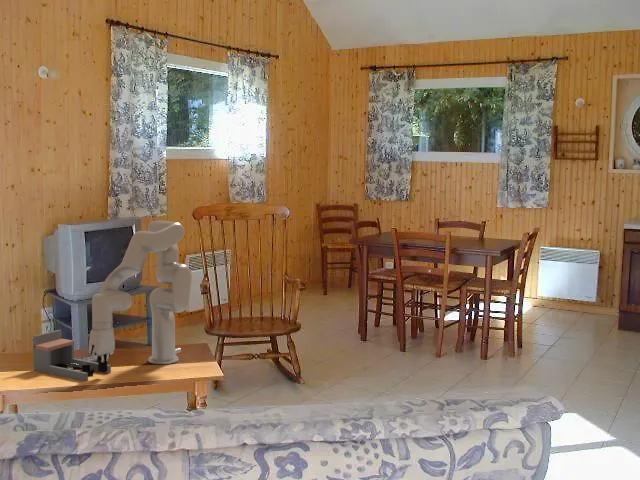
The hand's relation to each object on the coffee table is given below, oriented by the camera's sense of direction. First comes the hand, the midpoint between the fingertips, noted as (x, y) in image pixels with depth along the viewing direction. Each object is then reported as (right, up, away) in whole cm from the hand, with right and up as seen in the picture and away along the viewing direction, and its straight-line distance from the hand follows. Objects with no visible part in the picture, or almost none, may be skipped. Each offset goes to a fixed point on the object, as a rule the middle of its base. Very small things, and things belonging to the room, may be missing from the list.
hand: (102, 371), depth 290 cm
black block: (-8, -3, +6) cm, 10 cm away
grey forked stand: (-15, -1, +8) cm, 17 cm away
